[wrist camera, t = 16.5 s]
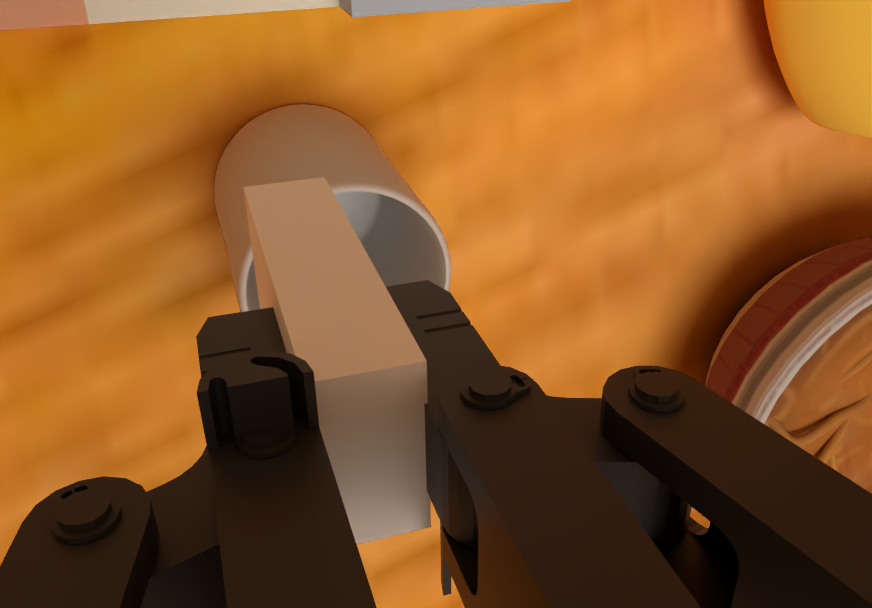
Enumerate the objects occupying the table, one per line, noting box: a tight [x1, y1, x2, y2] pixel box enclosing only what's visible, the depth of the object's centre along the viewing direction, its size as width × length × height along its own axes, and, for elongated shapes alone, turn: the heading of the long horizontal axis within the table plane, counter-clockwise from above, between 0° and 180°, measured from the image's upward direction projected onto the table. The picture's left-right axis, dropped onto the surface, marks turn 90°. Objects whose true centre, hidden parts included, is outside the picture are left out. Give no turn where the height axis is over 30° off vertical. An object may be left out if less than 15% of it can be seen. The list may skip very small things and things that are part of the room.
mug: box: [214, 104, 451, 312], centre depth 38 cm, size 12×8×11 cm
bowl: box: [705, 236, 872, 493], centre depth 53 cm, size 23×23×10 cm
